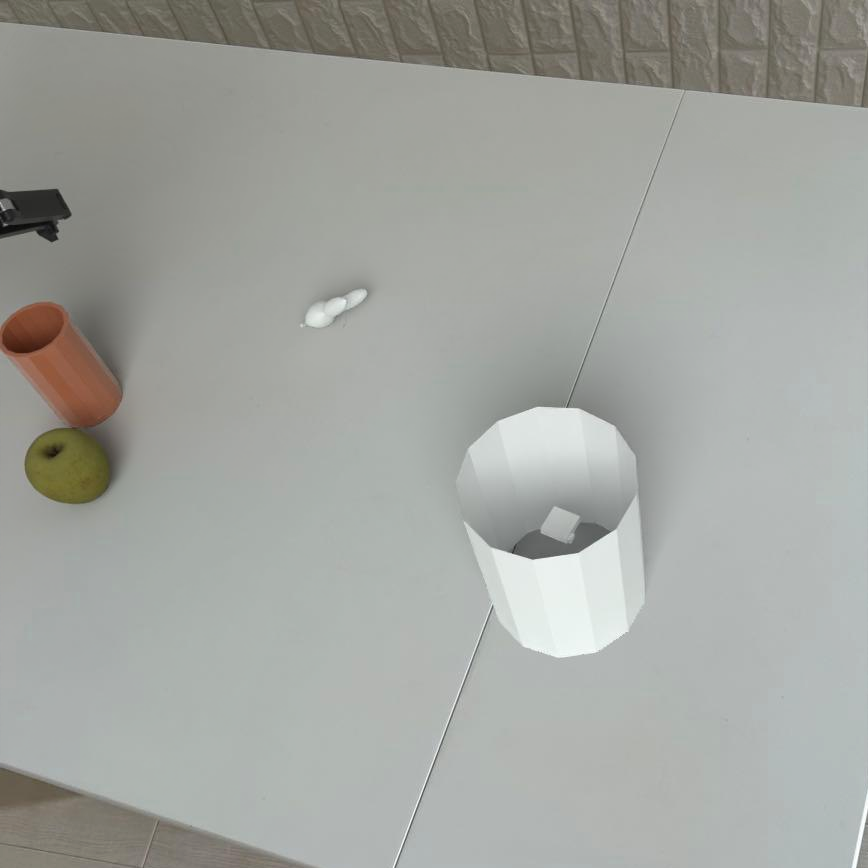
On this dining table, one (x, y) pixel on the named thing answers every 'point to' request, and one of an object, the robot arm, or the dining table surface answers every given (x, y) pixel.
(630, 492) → the container
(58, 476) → the apple
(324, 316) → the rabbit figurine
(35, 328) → the cup
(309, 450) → the dining table surface
